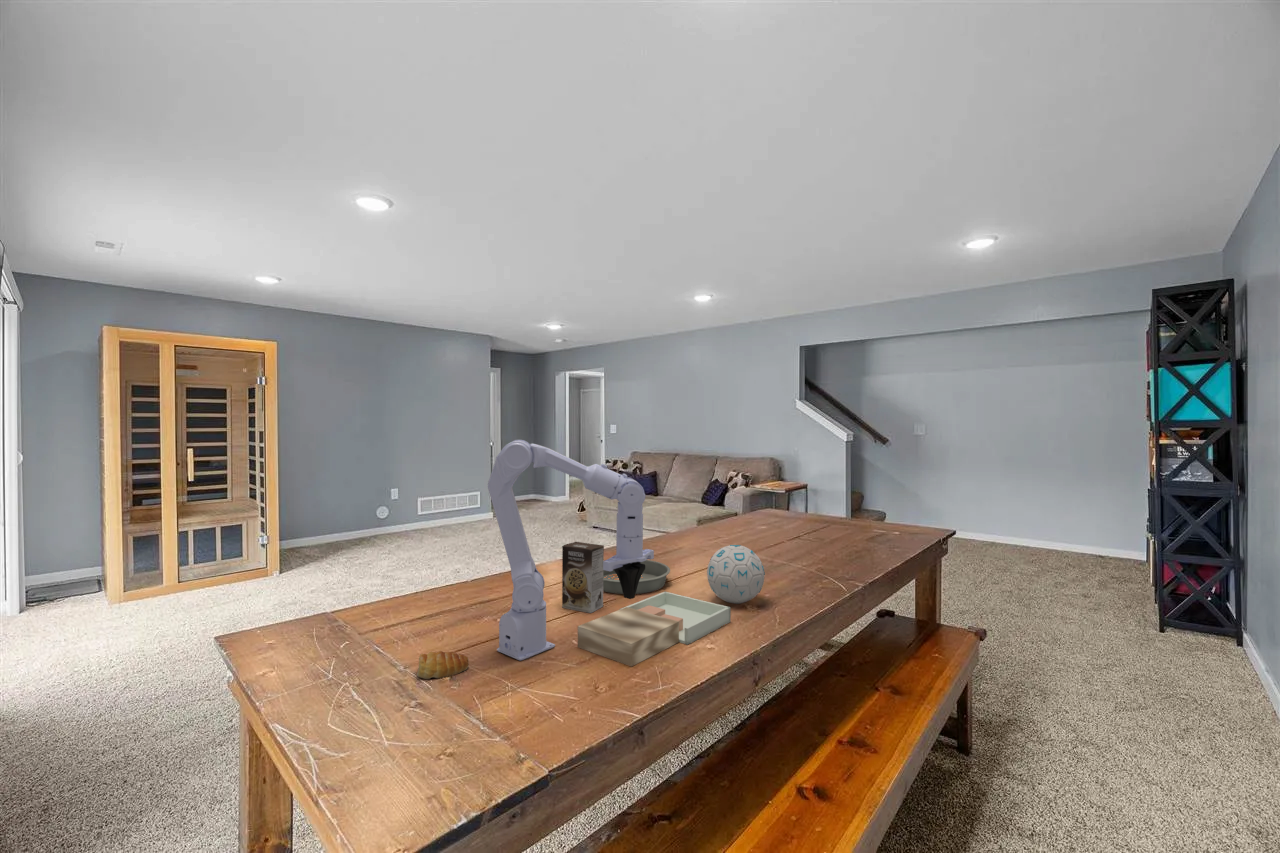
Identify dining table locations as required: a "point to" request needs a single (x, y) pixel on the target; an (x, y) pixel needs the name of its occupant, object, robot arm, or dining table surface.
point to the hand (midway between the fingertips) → (629, 597)
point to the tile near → (675, 620)
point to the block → (628, 635)
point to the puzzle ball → (735, 574)
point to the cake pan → (650, 582)
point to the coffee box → (582, 576)
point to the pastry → (441, 664)
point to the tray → (689, 614)
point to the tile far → (653, 610)
